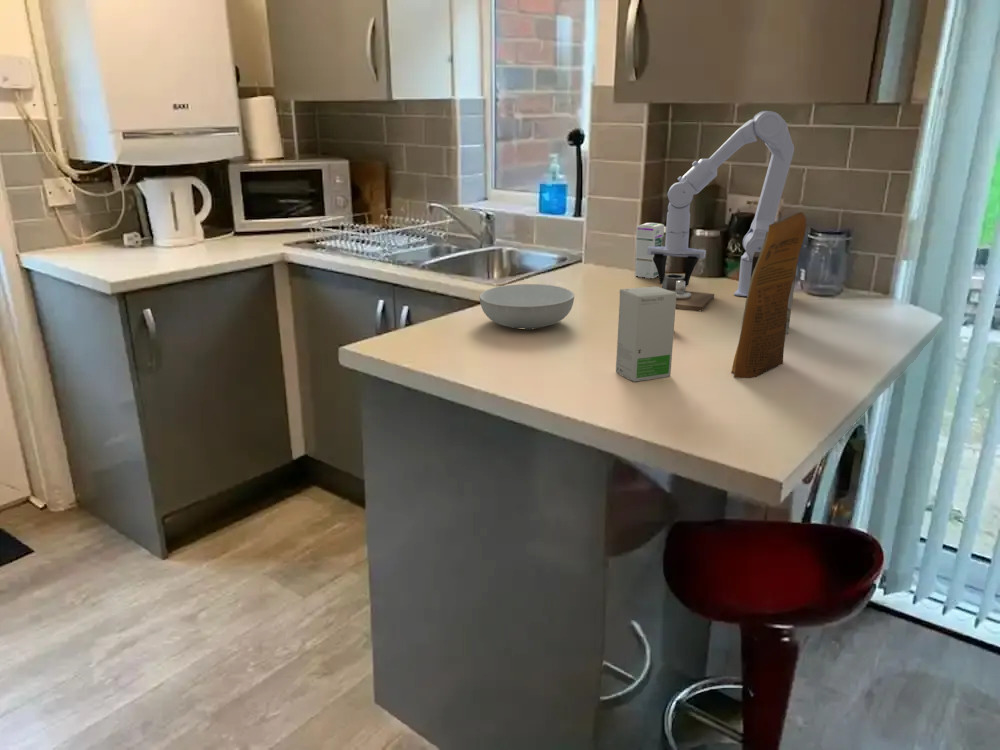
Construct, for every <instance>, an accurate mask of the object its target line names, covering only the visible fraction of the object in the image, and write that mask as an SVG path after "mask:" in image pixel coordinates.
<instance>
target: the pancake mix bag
mask: <svg viewBox="0 0 1000 750" xmlns="http://www.w3.org/2000/svg"><path fill="white" fill-rule="evenodd" d="M806 231H807V217H806V215H805V214H804V212H803V211H800V212H797V213H794V214H792V215H790V216H788V217H786V218H784V219H783V220H780V221H777V222H774V223H773V224H771V225H769V230H768V232H766V236H765V240H764V243H763V246H762V249H761V252H760V255H759V258H758V260H757V263H756V265H755V268H754V271H753V274H752V277H751V281H750V286H749V291H748V296H746V301H745V305H744V310H743V316H742V321H741V328H740V329H741V331H740V334H739V340H738V344H737V347H736V350H735V354H734V357H733V362H732V363H733V364H732V368H731V374H733V378H737V379H753V378H758V377H760V376H761V375H763V374H765V373H767V372H770V371H771V370H773V369H775V368H776V367H779V366H781V365H784V355H785V353H784V351H785V342H786V322H787V309H788V300H789V295H790V292H791V286H792V282H793V280H794V276H795V273H796V274H797V270H796V269H798V263H799V257H800V253H801V248H802V246H803V242H804V239H805V235H806Z"/></svg>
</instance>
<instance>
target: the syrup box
mask: <svg viewBox="0 0 1000 750" xmlns="http://www.w3.org/2000/svg"><path fill="white" fill-rule="evenodd" d="M664 234H665V224H663V223H660V222H659V223H658V222H645V223H643V224H637V225H636V235H635V236H636V237H635V259H634V260H635V262H634V276H635V277H636V276H638V278H642V277H645V278H644V279H650V278H653V279H655V278H657V276H658V277H659V274H658V271H657V268H656V265H655V263H654V261H653V257H654V255H647V250H648V247H649V246H654V247H664V240H665V239H664V237H665V235H664Z"/></svg>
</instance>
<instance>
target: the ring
mask: <svg viewBox="0 0 1000 750" xmlns="http://www.w3.org/2000/svg"><path fill="white" fill-rule="evenodd" d="M684 278H685V274H679V273H678V274H677V273H668V274H666V273H665V275H664V276H663V282H662V284H661V288H663V289H668V290H676V281H678V280H683V281H684ZM686 289H687V286H685V291H686Z"/></svg>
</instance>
